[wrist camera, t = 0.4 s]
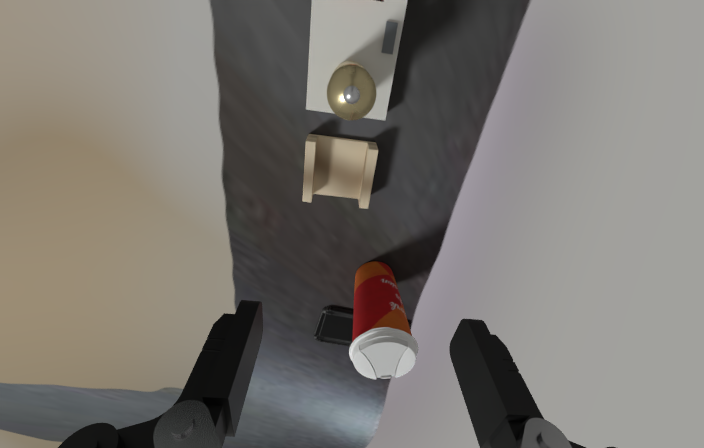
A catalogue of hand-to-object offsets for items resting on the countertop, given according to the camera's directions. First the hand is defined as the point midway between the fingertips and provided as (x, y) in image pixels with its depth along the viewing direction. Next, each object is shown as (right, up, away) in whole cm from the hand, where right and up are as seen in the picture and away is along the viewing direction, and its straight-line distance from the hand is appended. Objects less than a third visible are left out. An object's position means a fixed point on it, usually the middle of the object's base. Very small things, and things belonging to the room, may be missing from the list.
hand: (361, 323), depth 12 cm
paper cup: (+3, -4, +32) cm, 33 cm away
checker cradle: (0, +22, +16) cm, 28 cm away
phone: (+1, -14, +39) cm, 41 cm away
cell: (-1, +17, +16) cm, 24 cm away
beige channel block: (-2, +11, +23) cm, 26 cm away
